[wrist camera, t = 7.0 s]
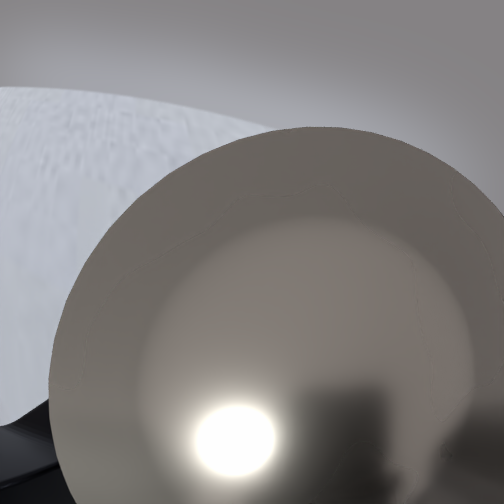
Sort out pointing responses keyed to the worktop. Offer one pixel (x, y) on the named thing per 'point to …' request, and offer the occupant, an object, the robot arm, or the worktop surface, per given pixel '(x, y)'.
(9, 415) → the worktop surface
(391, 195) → the canister
